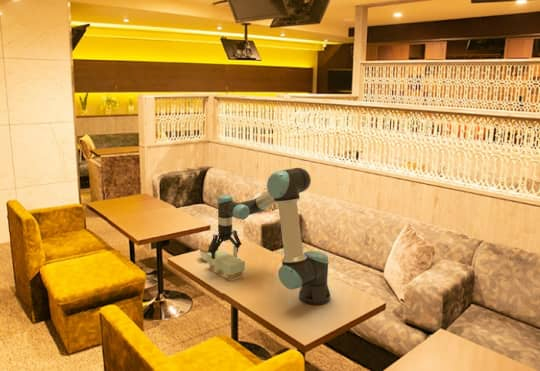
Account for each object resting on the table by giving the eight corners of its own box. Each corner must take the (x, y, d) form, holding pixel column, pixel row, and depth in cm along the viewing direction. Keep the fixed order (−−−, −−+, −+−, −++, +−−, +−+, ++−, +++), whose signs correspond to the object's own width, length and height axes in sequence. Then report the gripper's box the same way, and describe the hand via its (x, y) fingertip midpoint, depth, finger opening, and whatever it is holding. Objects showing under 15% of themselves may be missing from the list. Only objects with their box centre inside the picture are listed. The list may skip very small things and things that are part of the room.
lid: (244, 270, 246) (244, 261, 245) (229, 275, 240) (229, 266, 239) (221, 258, 262) (221, 249, 261) (206, 262, 256) (206, 253, 255)
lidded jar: (210, 264, 263) (210, 249, 261) (196, 260, 268) (195, 245, 266) (222, 258, 272) (221, 243, 270) (207, 255, 277) (207, 240, 275)
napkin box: (242, 277, 247) (242, 263, 245) (230, 281, 242) (230, 266, 240) (221, 265, 262) (221, 252, 260) (209, 269, 257) (209, 255, 255)
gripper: (239, 218, 256) (239, 253, 261) (201, 226, 241) (201, 264, 246) (248, 221, 251) (247, 257, 256) (209, 230, 235) (209, 269, 240)
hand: (225, 261), depth 251 cm, fingers open, 13 cm apart
